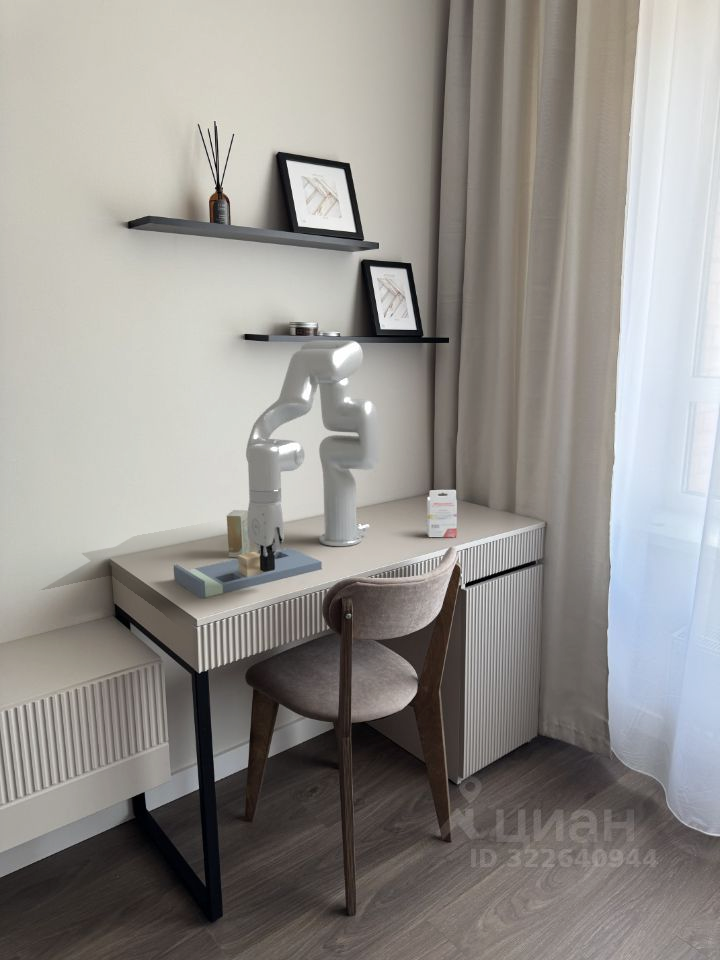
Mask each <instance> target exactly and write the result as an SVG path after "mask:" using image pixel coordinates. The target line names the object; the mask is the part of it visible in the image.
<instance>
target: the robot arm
mask: <svg viewBox="0 0 720 960" xmlns="http://www.w3.org/2000/svg"><path fill="white" fill-rule="evenodd" d="M363 360H364V352H363V348H362V347H361V345H360V343H358V342H357V341H355V340H342V339H341V340H337V339H336V340H334V339H333V340H331V339H329V340H328V339H327V340H326V339H325V340H323V339H322V340H321V339H320V340H311V341H310V340H309V341H307V342H305V343H303V344H302V345H301V347H300V350H297V351H295V352H294V353H293V354H292V356H291V358H290V361H289V363H288V367H287V371H286V374H285V378H284V380H283V384H282V386H281V390H280V393H279V397H278V399H277V400H276V401H275V402H273V403H272V404H271V405H269V407H268V408H266V409H265V411H263V412H262V413H261V414H260V415H259V417H258V418H257V419H256V421H255V422H254V423H253V425H252V428H251V430H250V434H249V437H248V441H247V444H246V448H245V449H246V451H245V457H246V460H247V465H248V466H247V470H248V472H247V473H248V495H249V497H248V499H249V502H248V507H247V508H248V509H247V511H248V538H249V541H252V542H254V543H255V544H256V545H257V550H258V552H257V553H258V554H261V555H260V570H261V571H263V572H268V571H272V570H275V554H276V551H279V550H281V545H282V544H283V543H284V538H285V537H284V536H285V535H284V529H285V528H284V519H283V511H282V510H283V509H282V479H281V477H282V476H281V472H293V471H295V470H297V469H299V468H300V467H301V466H302V464H303V463H304V460H305V450H304V447H303V445H301V444H300V442H297V441H296V440H293V439H292V440H291V439H279V438H278V439H277V438H270V437H271V436H272V434H273V432H275V431H276V430H277V429H278V428H279V427H281V426H283V425H284V424H287V423H289V422H291V421H294V420H296V419H298V418H300V417H303V416H305V415H307V414H308V413H310V411H311V409H312V408H313V407H312V406H313V402H314V400H315V395H316V392H317V388H319V396H320V409H321V420H322V424H323V427H324V428H325V429H326V430H328V431H330V432H338V433H355V434H357V436H356V435H343V434H333V435H328V436H326V437H324V438H323V439H322V440H321V442H320V444H319V448H318V451H319V452H318V453H319V458H320V463H321V468H322V469H321V470H322V480H323V516H324V517H323V518H324V519H323V521H324V523H323V525H324V533H322V534H321V535H319V542H320V543H321V544H322V545H326V546H331V547H347V546H354V545H357V544H359V543H361V542H362V540H363V537H362V535H361V534H360V533H362V532H366V531H369V530H370V529H371V528H370V525H369V524H368V523H367V524H362V525H361V523H357V484H356V480H355V477H354V475H353V473H352V472H351V471H350V470H363V471H367V470H369V471H370V470H373V469H374V468H376V466H377V465H378V463H379V459H380V442H379V441H380V440H379V439H380V438H379V422H378V421H379V420H378V419H379V418H378V411H377V408H376V406H375V404H374V403H373V401H371V400H369V399H365V398H352V396H351V389H350V381H349V377H350V376H352V375H354V374H355V373H356V372H358V371H359V369H360V368H361V366H362V364H363Z"/></svg>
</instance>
